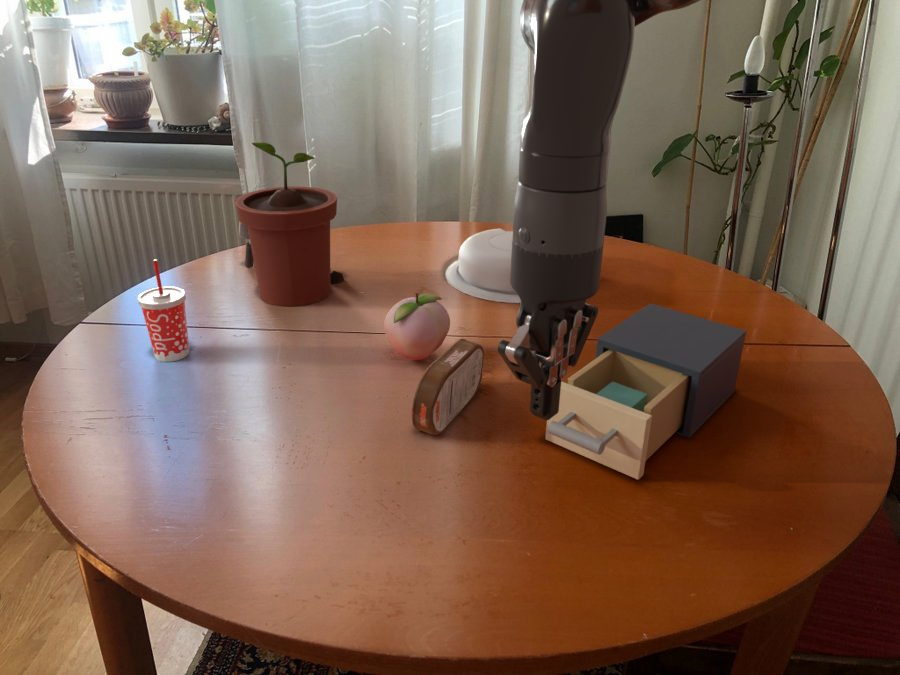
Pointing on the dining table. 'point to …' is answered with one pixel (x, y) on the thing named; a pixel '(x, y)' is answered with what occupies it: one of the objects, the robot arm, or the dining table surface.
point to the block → (624, 396)
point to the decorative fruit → (417, 326)
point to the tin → (447, 386)
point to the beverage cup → (165, 320)
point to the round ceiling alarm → (485, 267)
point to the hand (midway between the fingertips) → (544, 414)
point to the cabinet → (683, 355)
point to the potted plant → (289, 239)
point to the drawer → (619, 412)
